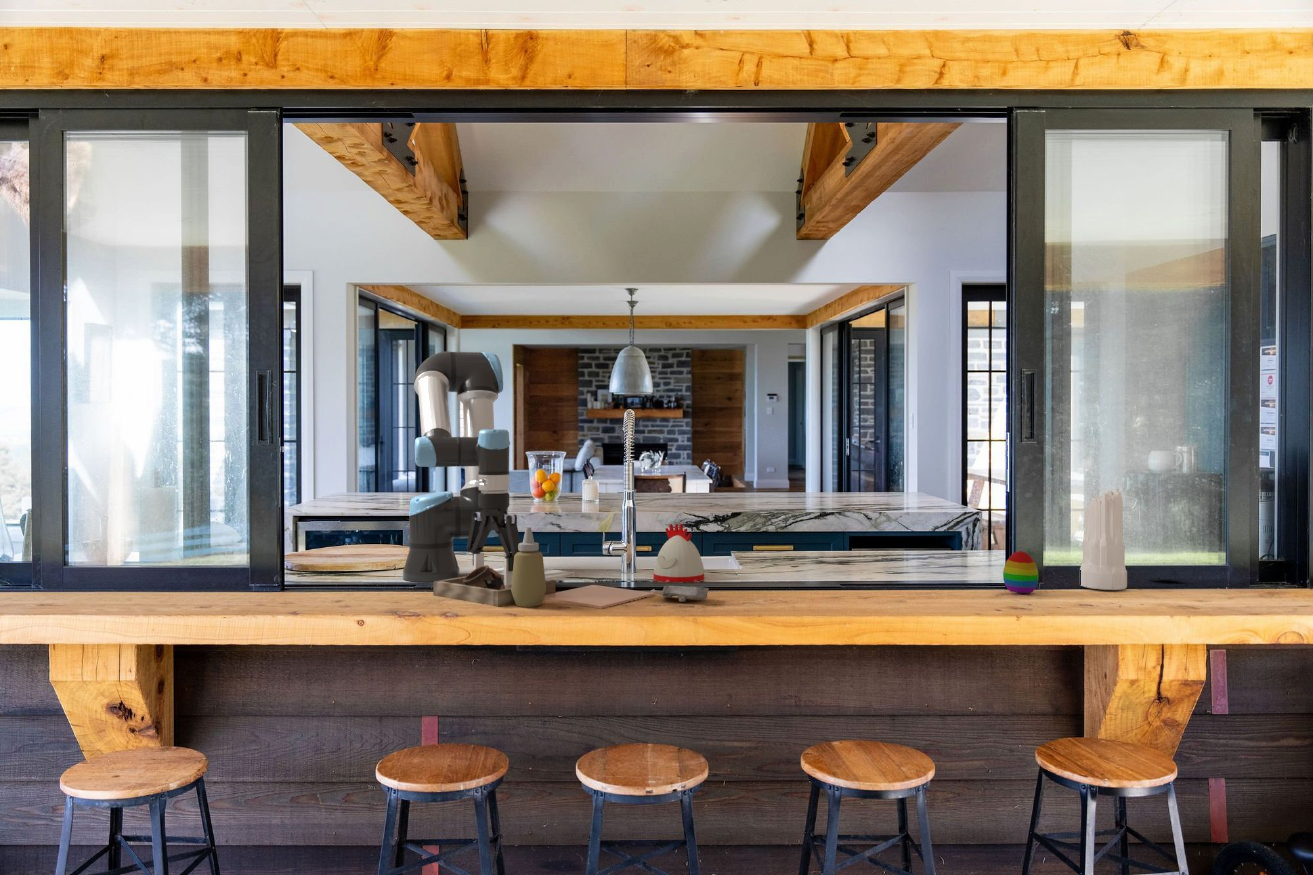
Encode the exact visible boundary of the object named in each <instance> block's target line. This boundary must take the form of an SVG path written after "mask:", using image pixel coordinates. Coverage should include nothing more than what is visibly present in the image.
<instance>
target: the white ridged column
mask: <svg viewBox="0 0 1313 875" xmlns="http://www.w3.org/2000/svg"><path fill="white" fill-rule="evenodd" d="M1122 495H1123V494H1122V491H1119V489H1118V488H1116V489H1114V490H1113V491H1112V490H1107V491H1106V492H1104V493H1101V494H1100V495H1099V496H1096V497H1091V500H1090V503H1088V504H1086V506H1085V509H1084V510H1085V511H1084V533H1083V540H1082V562H1081V565H1080V567H1079V571H1080V570H1081V585H1080V586H1081V587H1083V588H1087V589H1093V590H1094V589H1095V590H1105V591H1107V590H1108V591H1109V590H1110V591H1118V590H1125V589H1127V587H1128V570H1127V569H1126V565H1125V561H1126V560H1125V552H1126V551H1125V544H1124V543H1125V542H1124V540H1123V538H1124V537H1123V536H1124V534H1123V532H1124V530H1123V529H1124V527H1123V526H1124V525H1123V522H1124V520H1123V518H1124V516H1123V515H1124V514H1123V512H1124V511H1123V510H1124V509H1123V508H1124V507H1123V506H1124V504H1123V496H1122Z"/></svg>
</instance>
